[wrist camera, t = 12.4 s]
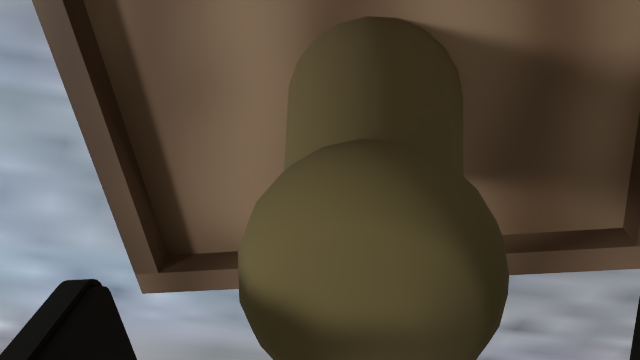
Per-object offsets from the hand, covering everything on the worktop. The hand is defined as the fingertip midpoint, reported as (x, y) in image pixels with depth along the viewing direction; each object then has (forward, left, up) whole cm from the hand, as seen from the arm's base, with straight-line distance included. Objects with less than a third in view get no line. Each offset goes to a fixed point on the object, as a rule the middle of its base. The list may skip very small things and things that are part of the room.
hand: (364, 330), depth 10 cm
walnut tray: (0, 0, -13) cm, 13 cm away
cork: (0, 0, -11) cm, 11 cm away
